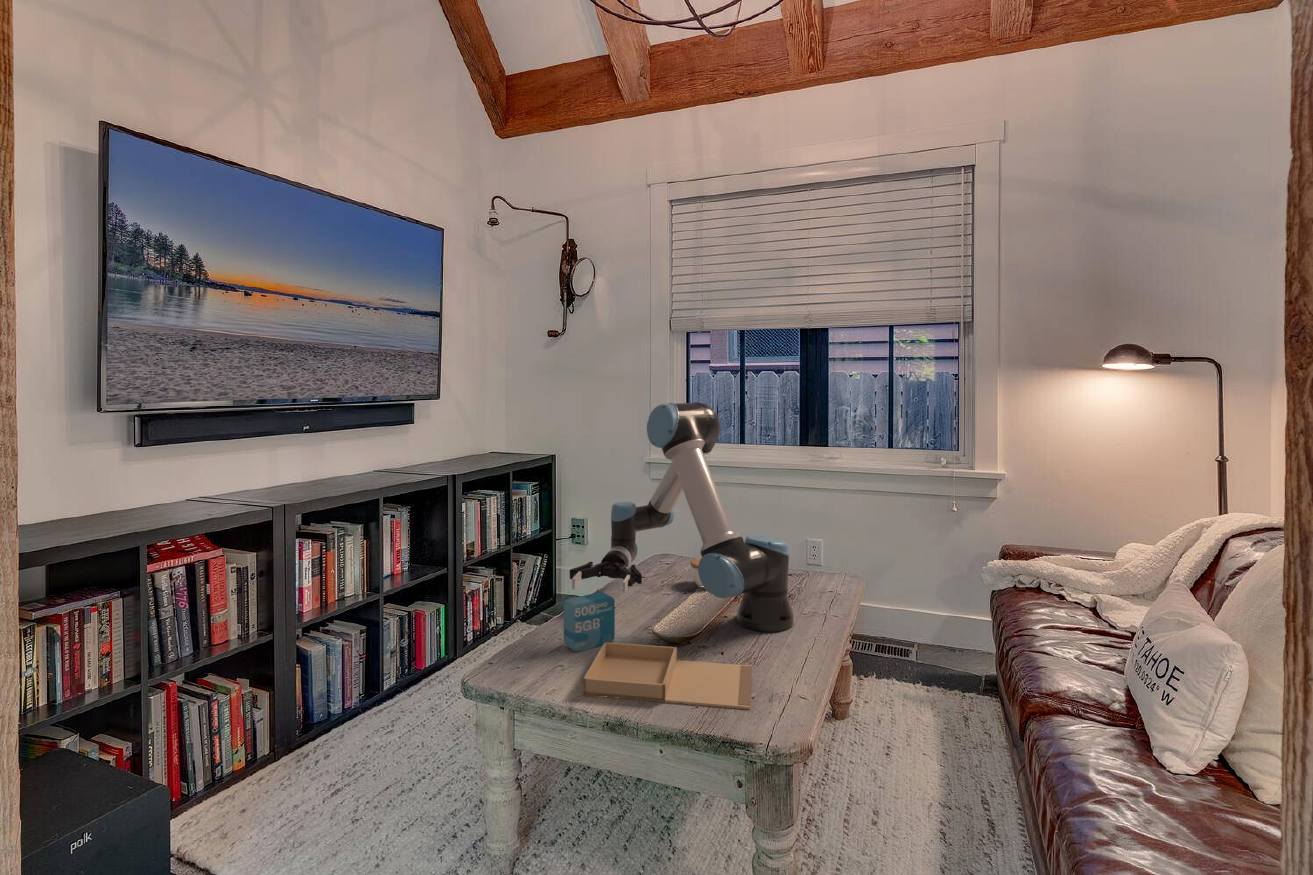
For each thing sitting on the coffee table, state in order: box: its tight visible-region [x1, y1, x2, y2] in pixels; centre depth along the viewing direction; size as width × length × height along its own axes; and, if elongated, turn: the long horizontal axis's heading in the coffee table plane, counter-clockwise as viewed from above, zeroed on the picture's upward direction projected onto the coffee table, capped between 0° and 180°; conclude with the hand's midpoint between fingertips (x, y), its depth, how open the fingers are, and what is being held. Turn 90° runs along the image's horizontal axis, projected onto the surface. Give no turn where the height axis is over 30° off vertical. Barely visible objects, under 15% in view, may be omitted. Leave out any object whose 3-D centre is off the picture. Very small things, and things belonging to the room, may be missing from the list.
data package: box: [563, 591, 616, 652], centre depth 163 cm, size 12×4×12 cm, turn 124°
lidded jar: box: [690, 557, 703, 588], centre depth 210 cm, size 11×11×9 cm
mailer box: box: [582, 642, 752, 710], centre depth 145 cm, size 34×19×4 cm, turn 81°
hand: (598, 585), depth 174 cm, fingers open, 13 cm apart
